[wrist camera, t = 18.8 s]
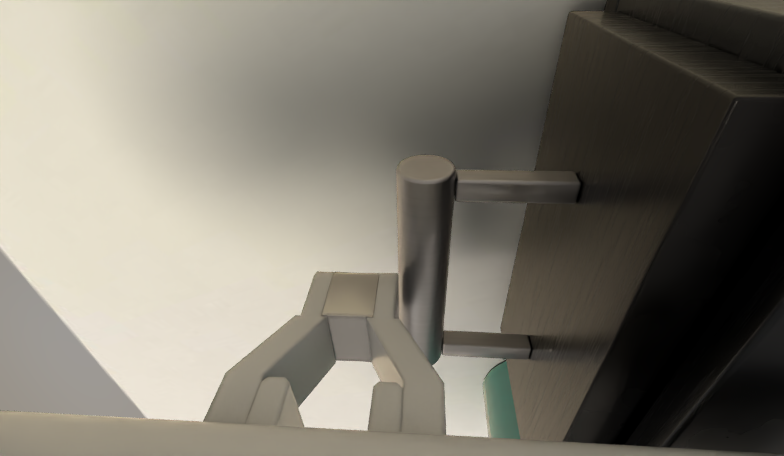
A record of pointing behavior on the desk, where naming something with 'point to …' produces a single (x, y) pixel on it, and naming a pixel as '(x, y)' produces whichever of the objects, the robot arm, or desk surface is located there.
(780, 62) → the cabinet
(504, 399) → the teal cylinder
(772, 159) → the drawer
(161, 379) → the desk surface
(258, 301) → the desk surface
